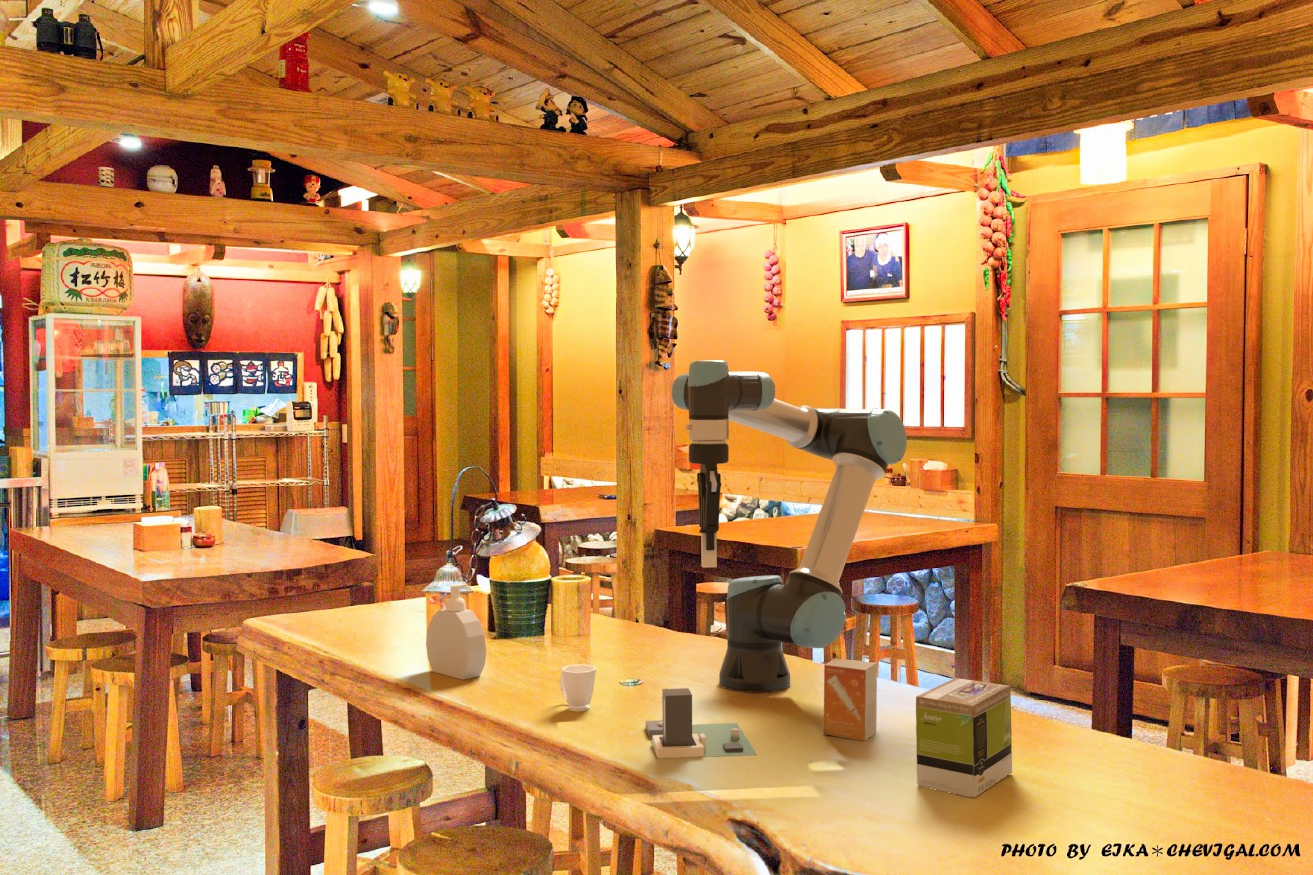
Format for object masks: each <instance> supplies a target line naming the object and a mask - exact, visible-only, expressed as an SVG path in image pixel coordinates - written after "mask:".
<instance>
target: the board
mask: <svg viewBox="0 0 1313 875" xmlns="http://www.w3.org/2000/svg"><path fill="white" fill-rule="evenodd" d="M644 727H645V728H646V725H645V726H644ZM702 733H704V735H705V737H706V752H704V757H703V758H709V757H710V758H712V757H713V758H715V757H735V756H742V757H743V756H758V754H757V752H756V751H755V749H754V747H753V745H752V744H751V743H750V742H749V740H748V739H747V736H746V735H745V734H744V731H742V729H741V727H740V725H738V723H737V722H729V723H728V722H726V723H703V724H702V723H701V724H700V723H699V724H698V723H697V724H692V734H697V735H698V737H699V734H702ZM649 741H650V744H651V746H652V749H653V751H654V755H655V757H656V759H657V760H663V759H664V760H665V759H669V760H670V758H657V755H656V753H655V750H654V747H653V745H652V738H649ZM687 758H693V759H694V757H682V758H681V759H687Z"/></svg>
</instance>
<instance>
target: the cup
mask: <svg viewBox="0 0 1313 875" xmlns="http://www.w3.org/2000/svg"><path fill="white" fill-rule="evenodd" d="M596 672H597V668H596V667H595V666H594V665H590V664H583V663H581V664H569V665H566V666H563V667H561V673H560V682H559V683H560V691H561V694H562V695H563V698H564V699H565V701H566V702H567V703H568V707H567V709H568V710H569V711H570V712H571V711H572V712H575V713H576V712H577V713H579V712H586V711H589V710H591V707H590V704H591V702H592V698H593V693H594V685H595V679H596Z"/></svg>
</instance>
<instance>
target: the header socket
mask: <svg viewBox="0 0 1313 875" xmlns="http://www.w3.org/2000/svg"><path fill="white" fill-rule="evenodd" d="M652 745H653V746H652ZM651 746H652V748H653V747H654V749H653V751H654V750H655V752H654V754H655V753H656V755H657V757H656V759H657V758H669V759H683V758H682V757H693V758H705V757H704V752H706V737H705V735H704V733H702V734H699V737H698V735H697V734H692V746H674V747H663V735H652V744H651ZM656 755H655V756H656Z"/></svg>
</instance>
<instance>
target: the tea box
mask: <svg viewBox="0 0 1313 875" xmlns="http://www.w3.org/2000/svg"><path fill="white" fill-rule="evenodd" d="M1011 693H1012V692H1011V685H1008V684H1000V683H993V682H985V681H978V680H973V679H971V680H970V679H964V678H960V677H959V678H958V677H954V678H952V679H950V680H947V681H946V682H944V683H941V684H940V685H937V686H935V687H933V688H932V689H929V690H927V691H925V692H923V693H921V694H918V695H916V696H915V736H916V744H915V745H916V784H917V786H918V787H920V788H925V787H927V788H926V789H929V788H932V789H931V790H933V789H936V790H935V791H938V790H940V791H939V792H943V791H944V792H943V793H947V792H950V793H949V794H951V793H955V794H954V795H956V794H958V795H957V796H961V795H963V796H962V797H966V796H967V798H971V797H975V798H976V797H978V796H979V795H980V794H982V793H984V792H985V791H986V789H987V790H989V789H990V788H991V787H992V786H994V785H996V784H997V783H999V782H1000V781H1002V780H1003V779H1005V778H1006V777H1008V776H1009V775H1010V774H1013V753H1012V749H1013V748H1012V747H1013V746H1012V742H1013V741H1012V735H1013V734H1012V732H1013V731H1012V702H1011V701H1012V700H1011V699H1012V698H1011V696H1012V694H1011ZM1007 775H1008V776H1007ZM1001 779H1002V780H1001ZM995 783H996V784H995ZM989 787H990V788H989Z"/></svg>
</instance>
